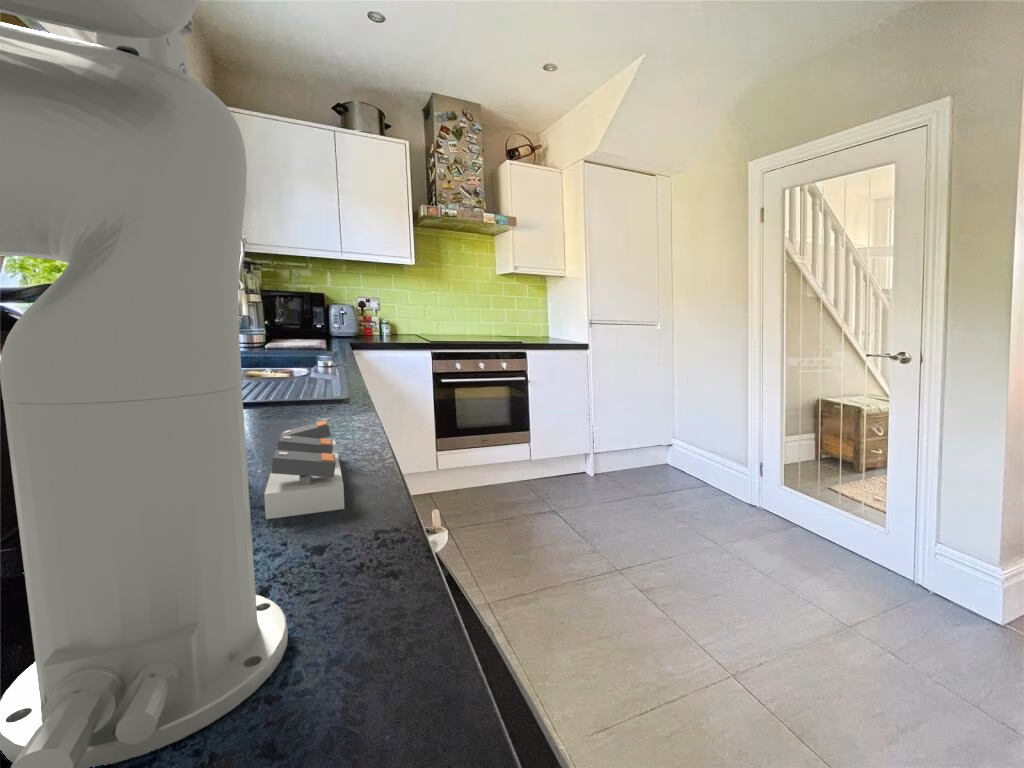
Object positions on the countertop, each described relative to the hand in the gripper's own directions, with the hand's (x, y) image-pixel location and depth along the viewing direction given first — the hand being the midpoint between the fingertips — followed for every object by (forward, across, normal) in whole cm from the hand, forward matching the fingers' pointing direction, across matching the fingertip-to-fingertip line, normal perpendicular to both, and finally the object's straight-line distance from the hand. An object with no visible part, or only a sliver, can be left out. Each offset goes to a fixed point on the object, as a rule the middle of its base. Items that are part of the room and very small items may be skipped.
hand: (158, 214), depth 44 cm
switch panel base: (+29, +9, -11) cm, 32 cm away
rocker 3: (+25, +1, -11) cm, 27 cm away
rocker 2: (+25, +9, -11) cm, 28 cm away
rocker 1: (+25, +17, -11) cm, 32 cm away
